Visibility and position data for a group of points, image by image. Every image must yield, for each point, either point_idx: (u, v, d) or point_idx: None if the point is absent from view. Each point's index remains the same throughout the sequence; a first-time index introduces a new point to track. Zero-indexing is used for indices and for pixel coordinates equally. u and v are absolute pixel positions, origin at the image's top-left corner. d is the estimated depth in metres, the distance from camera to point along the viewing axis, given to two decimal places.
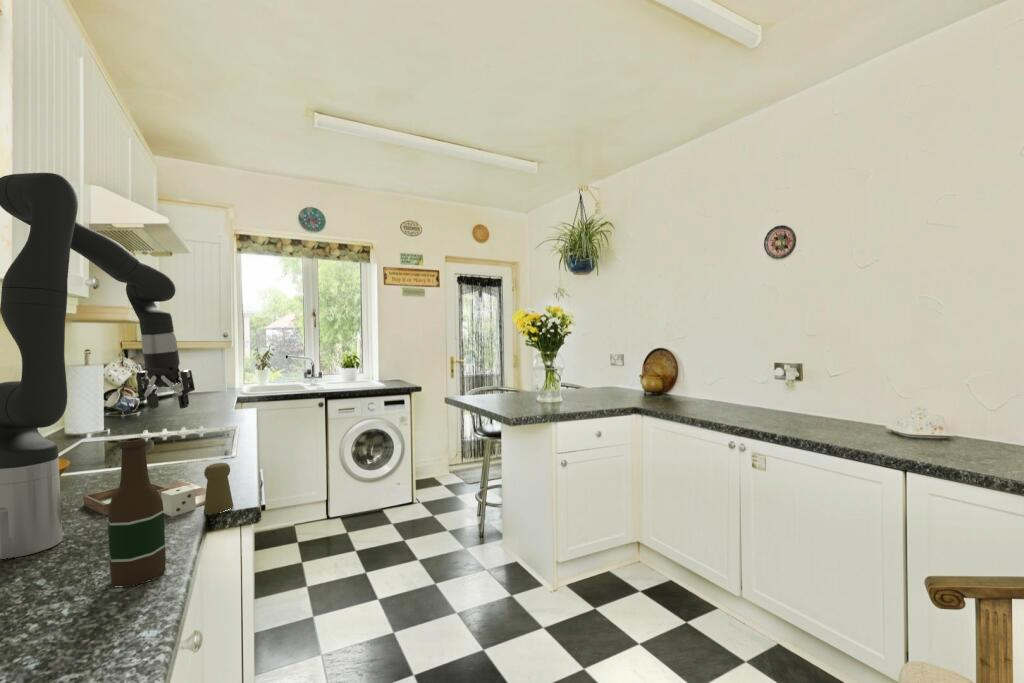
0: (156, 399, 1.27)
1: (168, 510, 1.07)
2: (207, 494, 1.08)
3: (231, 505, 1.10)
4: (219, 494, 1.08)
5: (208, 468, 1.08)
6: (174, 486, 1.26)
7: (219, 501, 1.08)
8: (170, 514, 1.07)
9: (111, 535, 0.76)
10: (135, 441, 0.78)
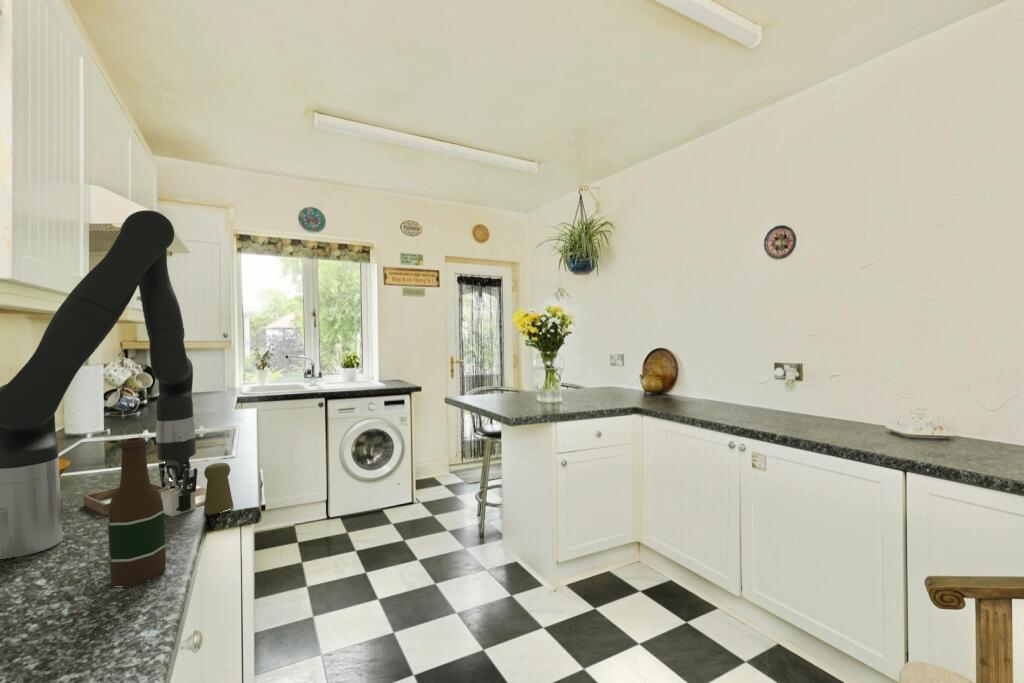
0: None
1: (167, 510, 1.07)
2: (207, 494, 1.08)
3: (231, 505, 1.10)
4: (219, 494, 1.08)
5: (208, 468, 1.08)
6: None
7: (219, 501, 1.08)
8: (170, 514, 1.07)
9: (111, 535, 0.76)
10: (135, 441, 0.78)
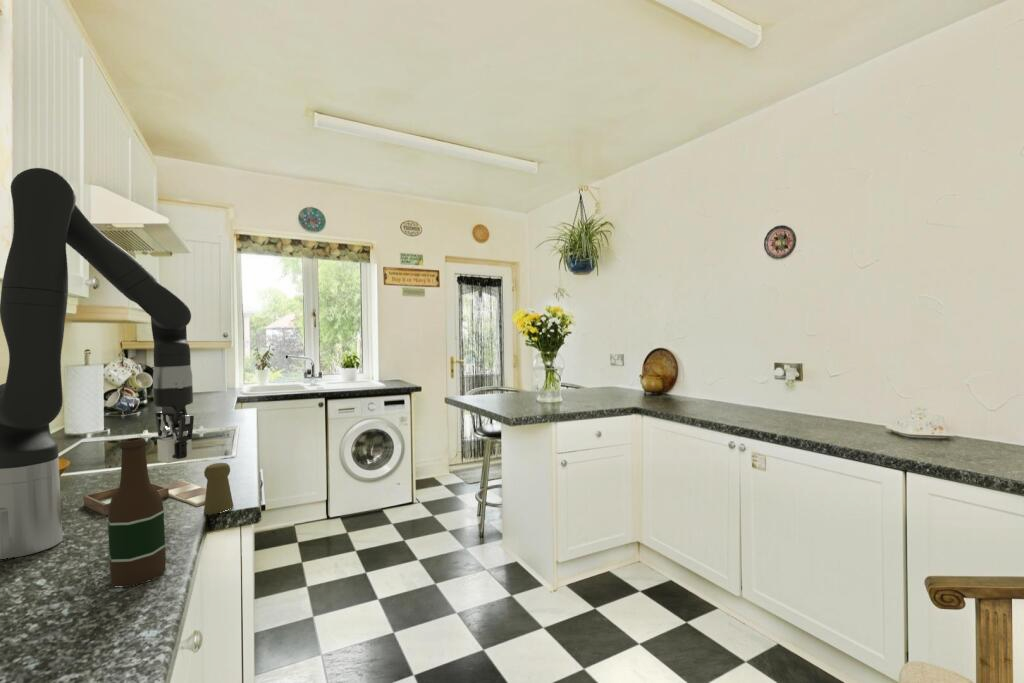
0: None
1: (164, 457, 1.07)
2: (207, 494, 1.08)
3: (231, 505, 1.10)
4: (219, 494, 1.08)
5: (208, 468, 1.08)
6: (174, 486, 1.26)
7: (219, 501, 1.08)
8: (166, 461, 1.06)
9: (111, 535, 0.76)
10: (135, 441, 0.78)
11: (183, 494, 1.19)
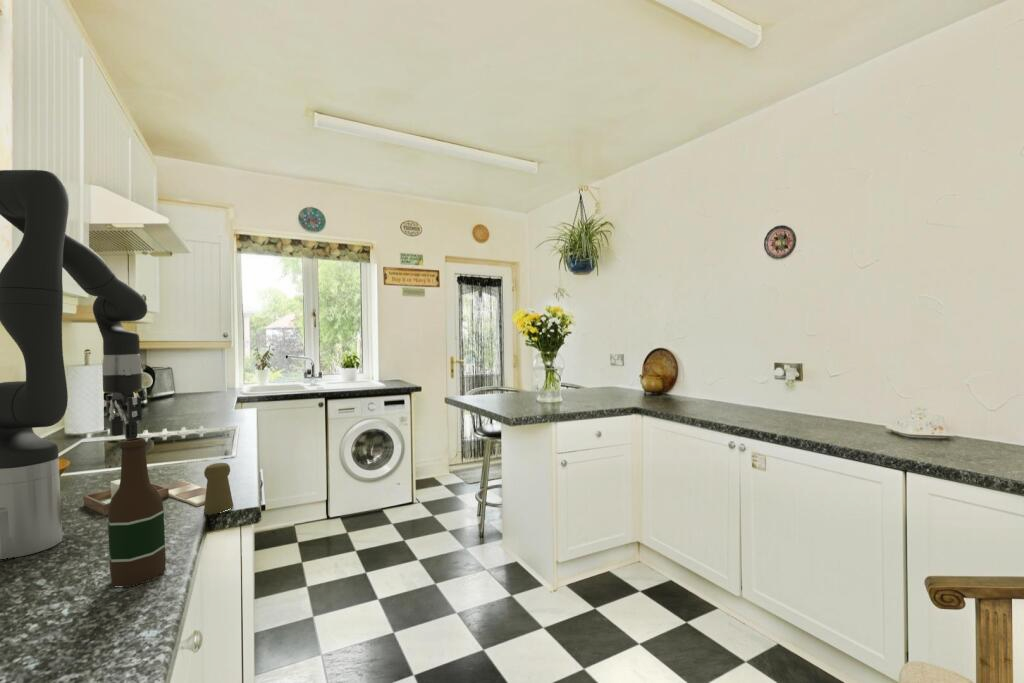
0: (120, 426, 1.19)
1: None
2: (207, 494, 1.08)
3: (231, 505, 1.10)
4: (219, 494, 1.08)
5: (208, 468, 1.08)
6: (174, 486, 1.26)
7: (219, 501, 1.08)
8: None
9: (111, 535, 0.76)
10: (135, 441, 0.78)
11: (183, 494, 1.19)
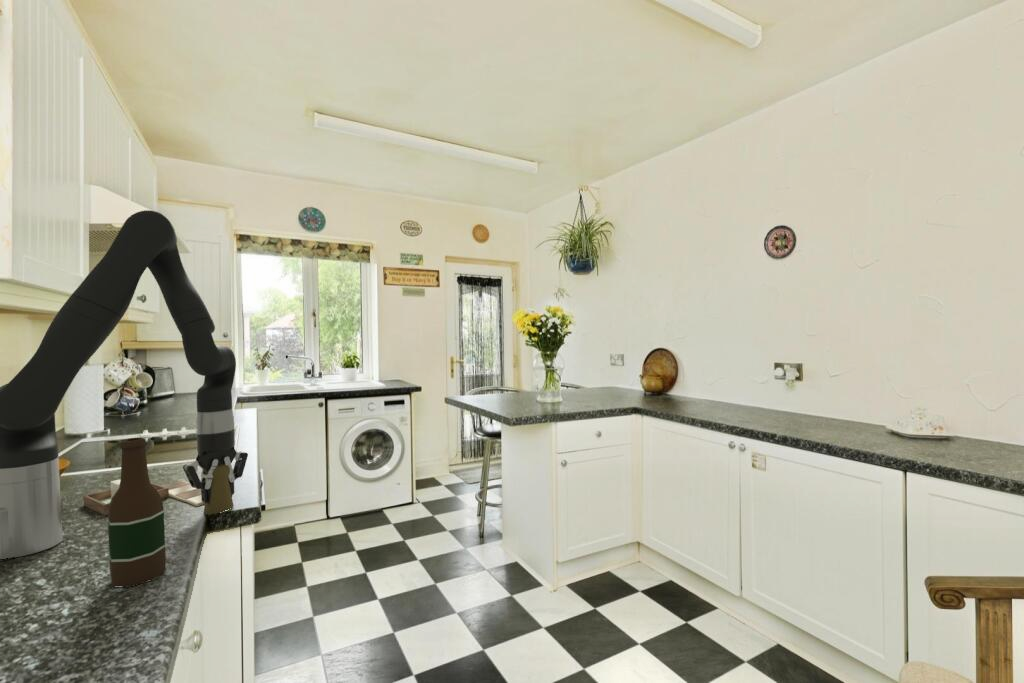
0: None
1: None
2: None
3: (231, 505, 1.10)
4: (219, 494, 1.08)
5: None
6: (174, 486, 1.26)
7: (219, 501, 1.08)
8: None
9: (111, 535, 0.76)
10: (135, 441, 0.78)
11: (183, 494, 1.19)
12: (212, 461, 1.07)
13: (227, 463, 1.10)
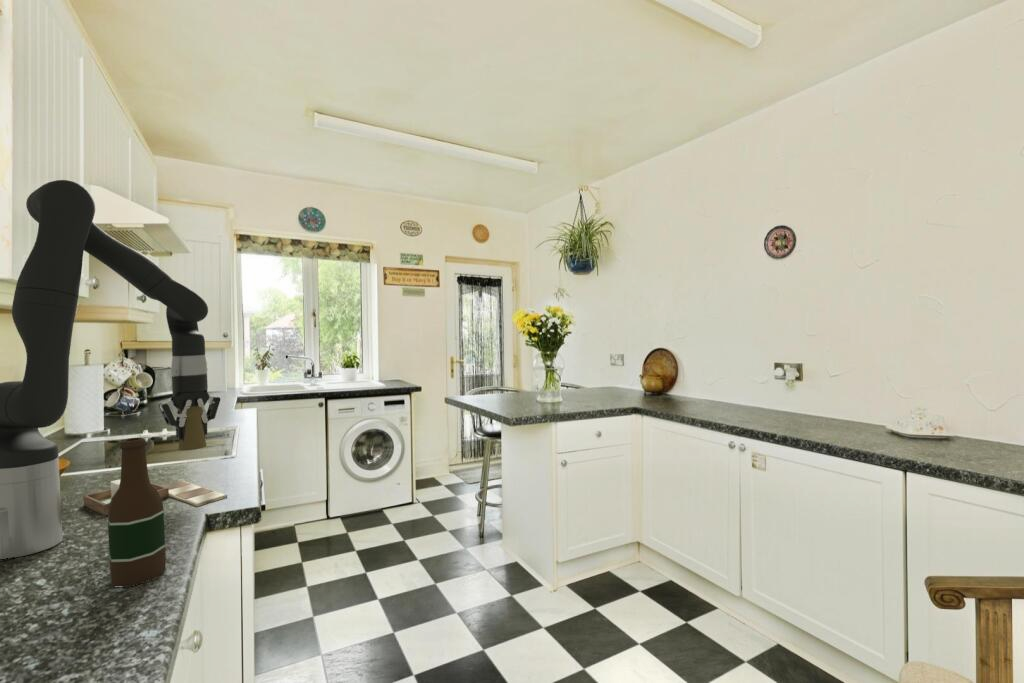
0: None
1: None
2: None
3: (204, 443, 1.20)
4: (192, 432, 1.18)
5: None
6: (174, 486, 1.26)
7: (192, 438, 1.17)
8: None
9: (111, 535, 0.76)
10: (135, 441, 0.78)
11: (183, 494, 1.19)
12: (186, 401, 1.17)
13: (200, 404, 1.20)
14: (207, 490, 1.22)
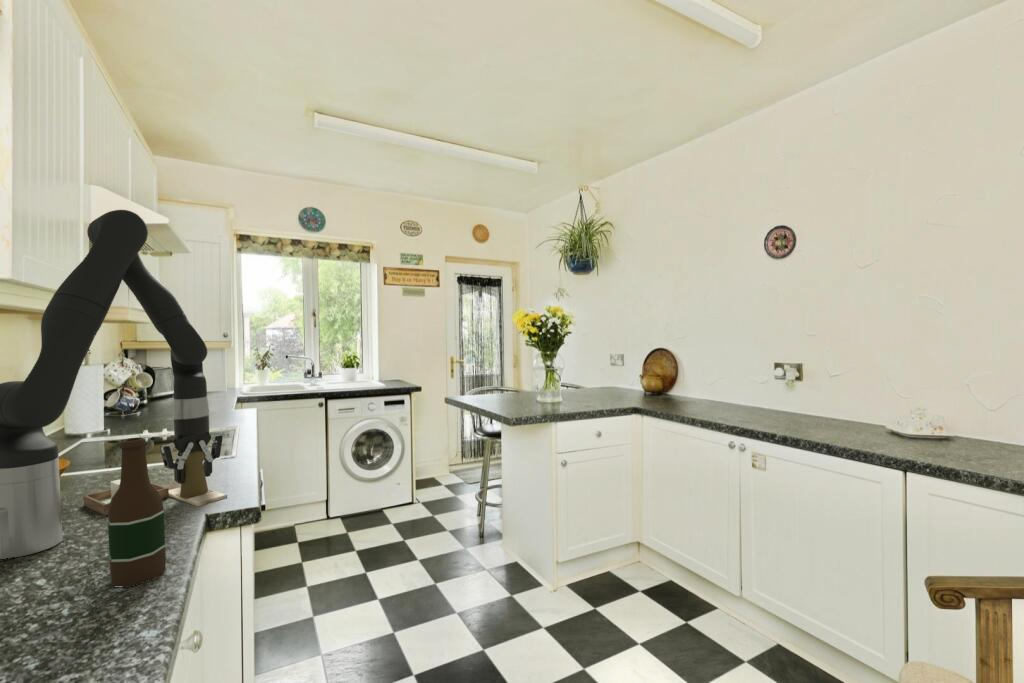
0: (206, 468, 1.22)
1: None
2: None
3: (205, 488, 1.20)
4: (194, 478, 1.18)
5: None
6: (174, 486, 1.26)
7: (194, 484, 1.18)
8: None
9: (111, 535, 0.76)
10: (135, 441, 0.78)
11: None
12: (188, 444, 1.17)
13: (203, 446, 1.20)
14: None
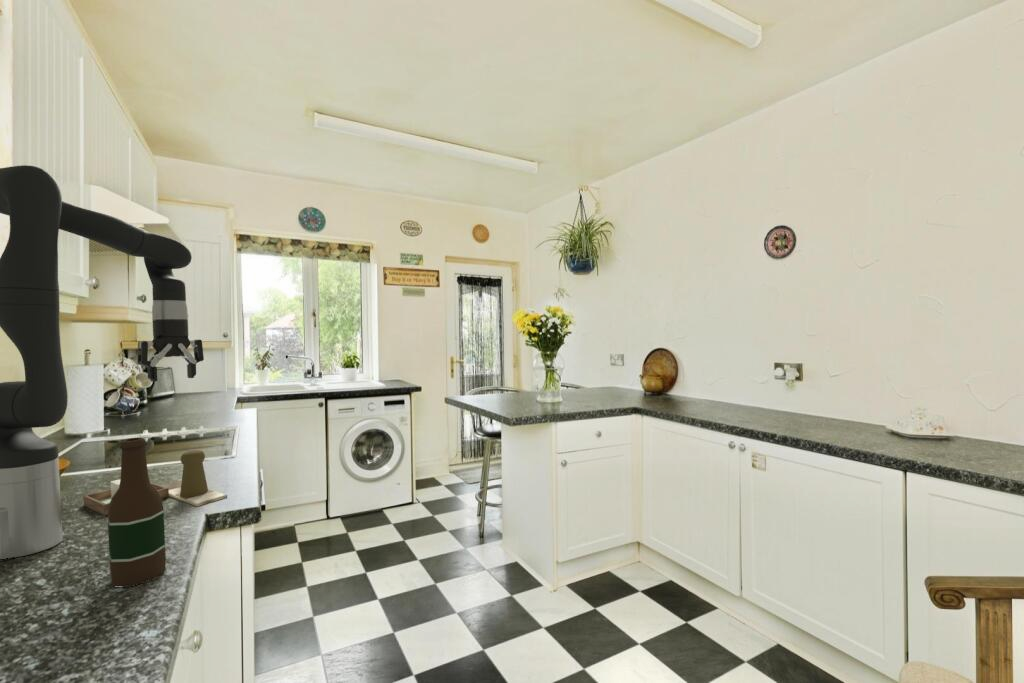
0: (190, 370, 1.25)
1: None
2: (183, 478, 1.18)
3: (205, 489, 1.20)
4: (194, 478, 1.18)
5: (184, 454, 1.18)
6: (174, 486, 1.26)
7: (194, 484, 1.18)
8: None
9: (111, 535, 0.76)
10: (135, 441, 0.78)
11: None
12: (167, 344, 1.19)
13: (182, 349, 1.22)
14: None
